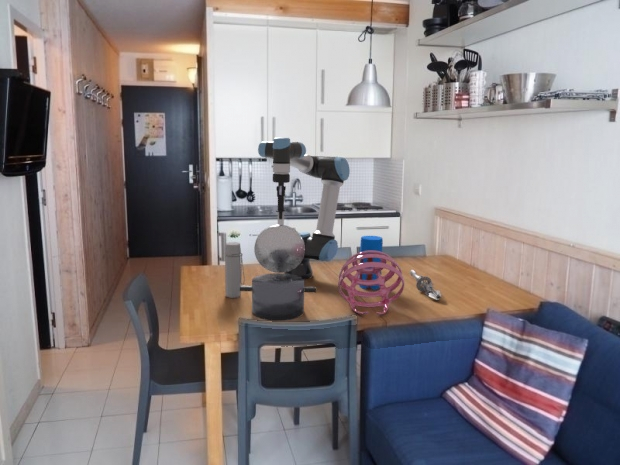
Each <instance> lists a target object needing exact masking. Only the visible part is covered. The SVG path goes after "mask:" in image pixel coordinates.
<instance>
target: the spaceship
mask: <svg viewBox="0 0 620 465" xmlns="http://www.w3.org/2000/svg"><path fill="white" fill-rule="evenodd" d="M409 274H410V276H411V277H412V278H413V279H415V280H416V285H415V286H416V289H417V290H418V291H419V292H424V295H426V297H429V298H432V299H434V300H436V301H441V300H440V299H441V298H442V294H441V291H440V290H437V289H436V287H434V286H435V285H434V283H433V282H432V279H431V278H430V277H428V276H427V275H426V276H423V275H422V274H421V275H418V273H417V272H416V271H415V270H414V269H411V270H409Z"/></svg>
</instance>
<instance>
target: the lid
mask: <svg viewBox="0 0 620 465" xmlns="http://www.w3.org/2000/svg"><path fill="white" fill-rule="evenodd" d="M299 233H300V232H298V231H297V230H296V229H294V227H291V226H288V225H285V224H284V225H278V224H274V225H271V226H268V227H266V228H264V229H263V230H261V232H260V233H259V234H258V235H257V238H256V240H255V242H254V249H253V251H254V256H255V258H256V260H257V262H258V263H259V265H261V266H262V268H264V269H265V270H267V271H269V272H272V273H284V272H288V271H291V270H293V269H295V268H296V267H297V266H298V265H299V264H300V263H301V261H302V260H303V257H304V254H305V245H304V241H303V239H302V237H301V235H300V234H299Z"/></svg>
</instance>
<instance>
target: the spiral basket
mask: <svg viewBox="0 0 620 465" xmlns="http://www.w3.org/2000/svg"><path fill="white" fill-rule="evenodd" d="M364 254H365V255H364ZM364 258H381V262H366V263H361V264H360V263H358V261H360V259H364ZM387 261H388V262H391V264H389V263H387ZM351 264H352V266H351V267H349V266H350V265H351ZM369 267H373V268H372V269H365V268H369ZM384 269H386V270H388V272H387V273H386V274H385V275H384V276H382V274H381V275H380V271H381V272H382V271H383V270H384ZM354 272H356V273H355V275H353V273H354ZM361 273H363V274H376V275H377V279H375V280H361V279H359V275H360V274H361ZM395 274H396V275H397V276H398V277H397V279H396V281H394V283H392V284H391V285H389V286H388V287H386V282H388V281H389V280H390V279H392V278H393V277H394V275H395ZM345 278H347V280H349V281H350V286H348V285H347V284H346V282H345V281H344V279H345ZM400 284H401V287H400V289H399V290H398V291H397V292H396V294H394V295H392V296H391V297H389V294H391V293H392V292H393V291H394V290H396V289H397V288H398V287H399V286H400ZM337 285H338V286H337V287H338V290H339V291H338V293H339V294H340V296H341V297H342V299H344V300H345V301H346V302H347V303H348V304H349V306H350V307H351V309H352V310H353V312H355V313H356V314H358V315H360V316H361V315H363V316H364V315H367V314H369V311H368V310H367V311H363V312H362V311H359V310H358V309H357V308H356V306H358V307H363V308H377V307H382V311H381V312H379V311H376V314H377V315H379V316H383V315H385V314H387V311H388V309H389V305H390V304H391V303H393V302H394V301H396V300H397V299H398V298H399V297H400V296H401V295H402V293H403V292H404V288H405V279H404V276H403V271H402V268H401V267H400V264H399V263H398V262H396V260H394V259H393V257H392V256H390V255H388V254H387V253H385V252H383V251H382V252H380V251H373V250H370V251H363V252H360V251H359V252H357V253H355V254H353V255H351V257H349V258H348V259H347V260H346V262H345V263H344V264H343V266H342V267H341V269H340V272H339V274H338V284H337ZM359 285H363V286H374V285H379V286H380V288H379V290H377V291H360V290H357V289H356V286H359ZM341 288H343V290H345V292H347V293H348V296H347V295H346V294H345V293H344V292H343V291H342V289H341ZM355 297H361V298H376V297H377V298H378V297H381V298H382V300H380V301H375V302H363V301H359V300H356V299H355Z"/></svg>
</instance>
